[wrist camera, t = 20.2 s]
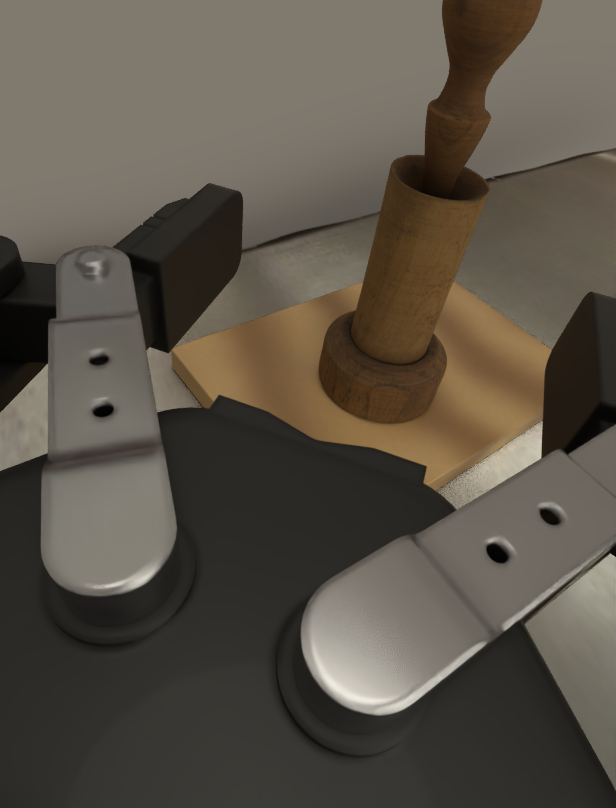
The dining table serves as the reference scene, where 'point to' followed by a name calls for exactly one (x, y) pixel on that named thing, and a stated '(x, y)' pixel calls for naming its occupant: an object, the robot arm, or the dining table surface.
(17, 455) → the dining table surface
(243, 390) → the cutting board
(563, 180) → the dining table surface
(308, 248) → the dining table surface
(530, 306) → the dining table surface
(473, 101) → the mortar and pestle
